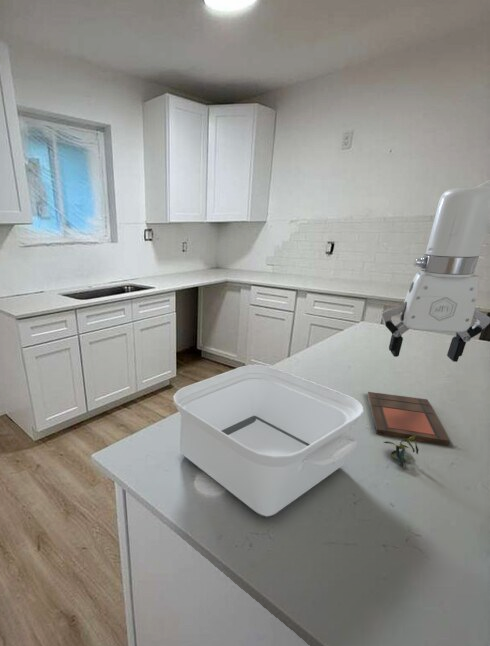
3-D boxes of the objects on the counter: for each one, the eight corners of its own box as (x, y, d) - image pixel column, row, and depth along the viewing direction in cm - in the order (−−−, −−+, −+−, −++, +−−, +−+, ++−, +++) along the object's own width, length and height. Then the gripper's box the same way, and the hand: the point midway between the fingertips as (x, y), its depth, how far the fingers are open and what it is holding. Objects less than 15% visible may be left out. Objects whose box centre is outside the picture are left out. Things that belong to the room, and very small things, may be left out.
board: (426, 403, 96) (427, 398, 95) (448, 445, 79) (450, 440, 78) (367, 395, 101) (367, 391, 100) (376, 433, 84) (377, 428, 83)
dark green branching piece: (415, 472, 71) (423, 444, 69) (379, 462, 74) (386, 436, 72) (413, 450, 78) (421, 424, 75) (380, 442, 80) (387, 417, 78)
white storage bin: (156, 449, 81) (153, 390, 75) (244, 409, 96) (248, 357, 90) (282, 554, 55) (293, 477, 49) (376, 477, 70) (393, 411, 64)
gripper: (397, 267, 62) (376, 359, 69) (521, 270, 57) (485, 368, 64) (387, 262, 69) (369, 346, 76) (497, 264, 64) (467, 354, 71)
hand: (422, 356), depth 70 cm, fingers open, 9 cm apart
